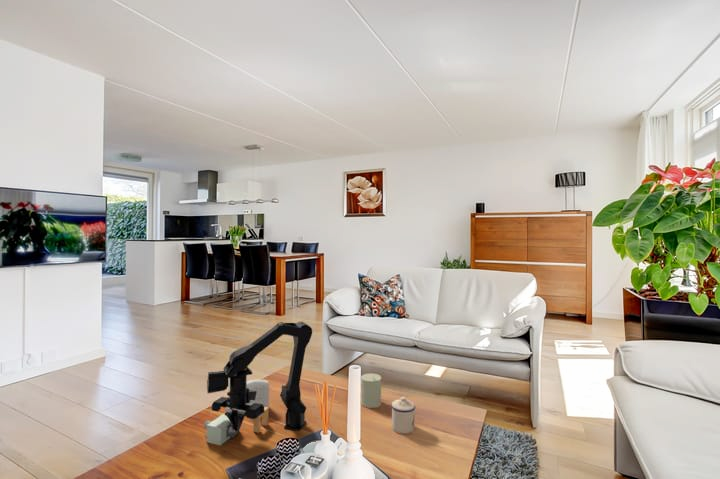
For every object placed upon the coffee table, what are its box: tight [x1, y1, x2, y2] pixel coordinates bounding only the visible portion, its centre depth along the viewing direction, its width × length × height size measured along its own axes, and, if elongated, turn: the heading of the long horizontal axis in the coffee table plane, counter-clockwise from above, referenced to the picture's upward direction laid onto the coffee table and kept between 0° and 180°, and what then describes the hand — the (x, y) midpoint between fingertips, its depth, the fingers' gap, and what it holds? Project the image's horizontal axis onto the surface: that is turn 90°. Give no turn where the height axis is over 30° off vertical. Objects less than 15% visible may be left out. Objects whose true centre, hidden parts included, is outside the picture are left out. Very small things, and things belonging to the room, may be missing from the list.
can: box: [360, 372, 382, 409], centre depth 154 cm, size 9×9×12 cm
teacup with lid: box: [391, 396, 416, 435], centre depth 135 cm, size 12×9×12 cm
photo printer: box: [247, 379, 270, 410], centre depth 148 cm, size 10×4×12 cm, turn 98°
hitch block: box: [206, 412, 232, 446], centre depth 127 cm, size 6×10×6 cm, turn 161°
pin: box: [203, 420, 238, 438], centre depth 127 cm, size 12×4×4 cm, turn 71°
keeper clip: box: [252, 407, 269, 434], centre depth 133 cm, size 2×6×6 cm, turn 161°
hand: (237, 431), depth 125 cm, fingers closed
